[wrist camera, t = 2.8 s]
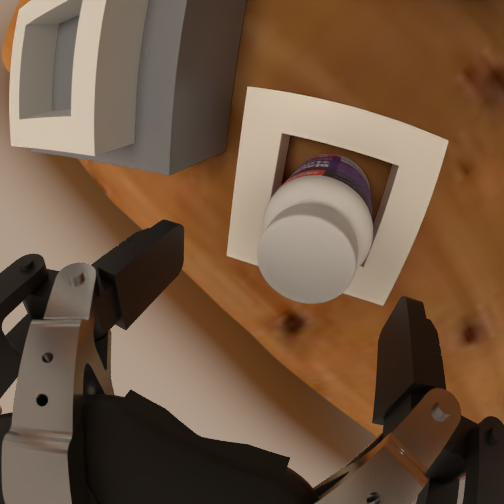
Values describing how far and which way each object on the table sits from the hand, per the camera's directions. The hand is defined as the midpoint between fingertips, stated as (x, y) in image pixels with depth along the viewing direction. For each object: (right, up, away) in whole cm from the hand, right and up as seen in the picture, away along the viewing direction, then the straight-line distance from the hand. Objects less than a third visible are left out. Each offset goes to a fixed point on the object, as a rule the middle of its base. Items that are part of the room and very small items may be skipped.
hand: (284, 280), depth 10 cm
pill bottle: (+4, +5, +9) cm, 11 cm away
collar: (+4, +5, +9) cm, 11 cm away
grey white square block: (-10, +16, +8) cm, 21 cm away
